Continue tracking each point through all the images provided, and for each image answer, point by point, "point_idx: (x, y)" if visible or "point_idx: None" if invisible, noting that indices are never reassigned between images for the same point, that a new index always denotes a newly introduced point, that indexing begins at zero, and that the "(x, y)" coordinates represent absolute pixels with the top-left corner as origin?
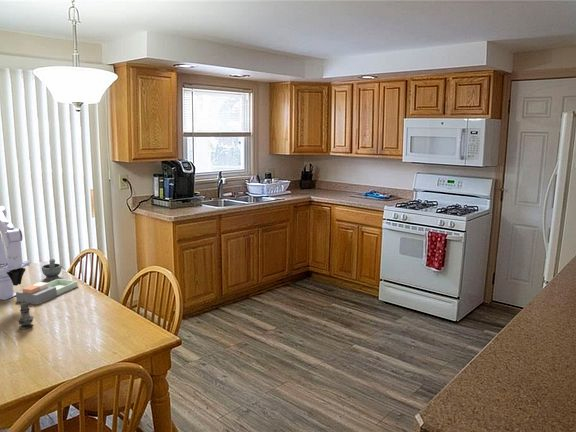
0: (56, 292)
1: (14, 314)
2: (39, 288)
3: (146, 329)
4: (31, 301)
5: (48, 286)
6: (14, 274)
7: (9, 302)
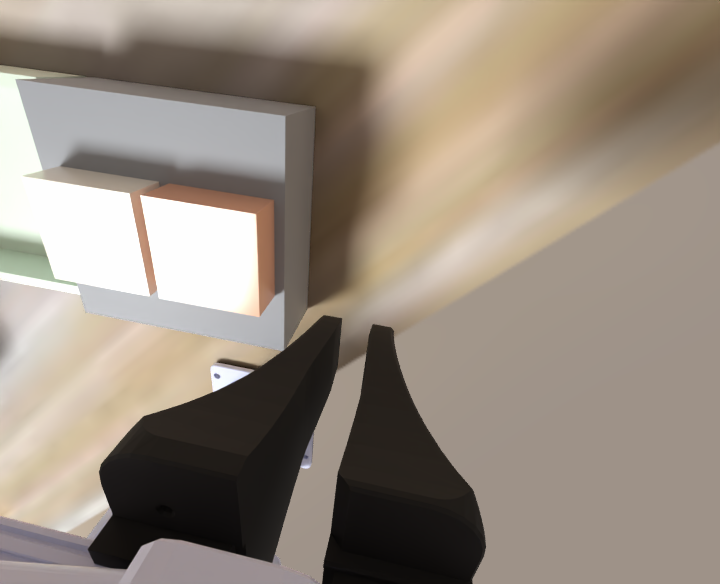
0: None
1: (578, 141)
2: None
3: None
4: (307, 176)
5: None
6: (462, 485)
7: None
